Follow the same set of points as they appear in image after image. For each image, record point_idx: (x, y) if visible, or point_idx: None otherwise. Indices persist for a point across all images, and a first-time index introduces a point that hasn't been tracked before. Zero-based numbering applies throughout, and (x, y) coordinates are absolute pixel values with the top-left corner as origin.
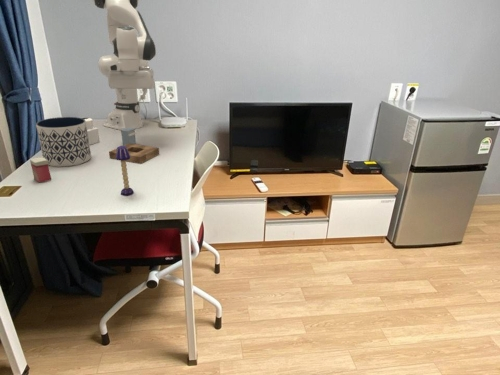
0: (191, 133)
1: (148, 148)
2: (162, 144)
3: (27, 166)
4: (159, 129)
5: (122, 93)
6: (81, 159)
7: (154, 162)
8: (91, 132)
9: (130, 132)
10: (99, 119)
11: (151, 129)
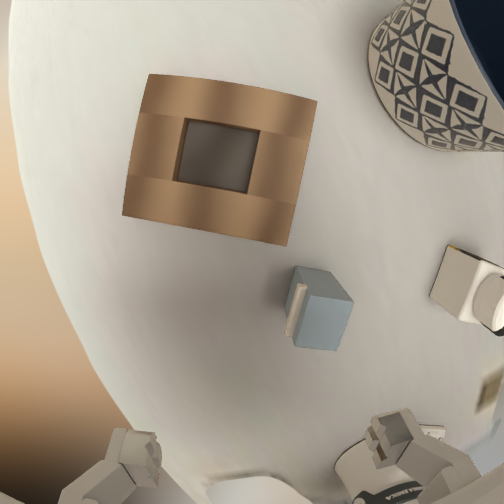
0: None
1: (160, 191)
2: (178, 334)
3: None
4: (272, 464)
5: (410, 470)
6: (375, 32)
7: (114, 112)
8: (467, 279)
9: (303, 307)
10: None
11: (298, 459)
